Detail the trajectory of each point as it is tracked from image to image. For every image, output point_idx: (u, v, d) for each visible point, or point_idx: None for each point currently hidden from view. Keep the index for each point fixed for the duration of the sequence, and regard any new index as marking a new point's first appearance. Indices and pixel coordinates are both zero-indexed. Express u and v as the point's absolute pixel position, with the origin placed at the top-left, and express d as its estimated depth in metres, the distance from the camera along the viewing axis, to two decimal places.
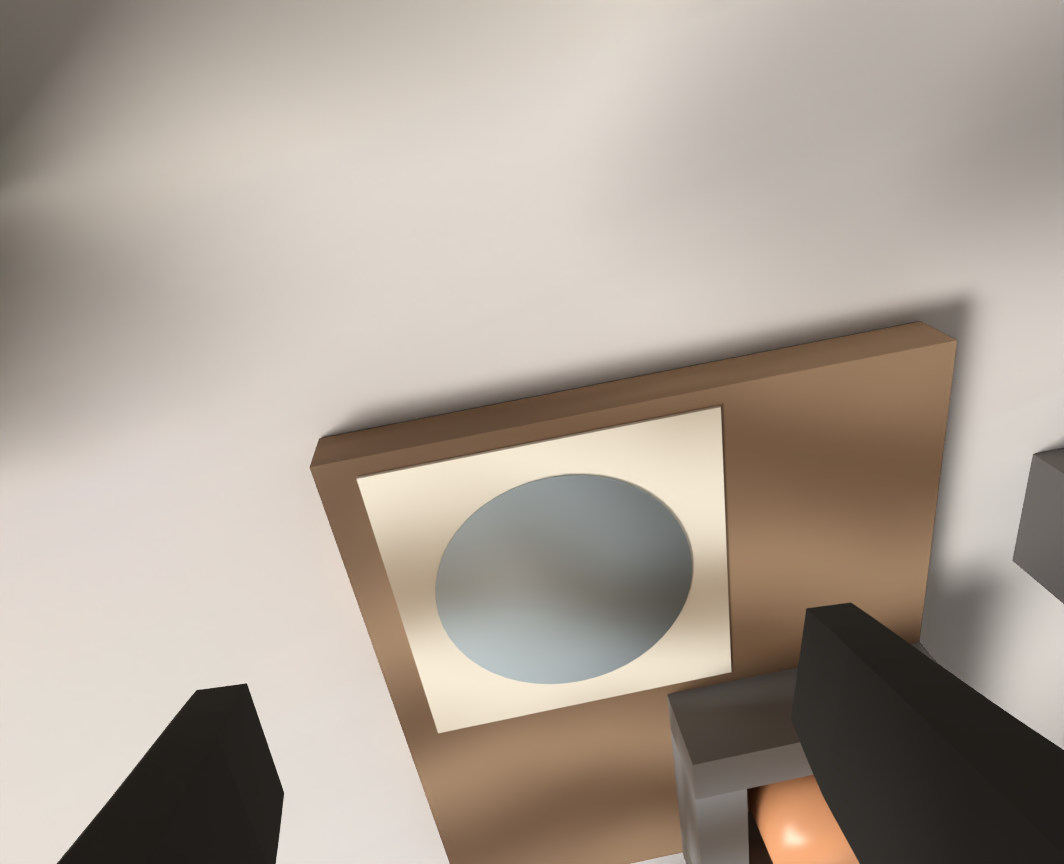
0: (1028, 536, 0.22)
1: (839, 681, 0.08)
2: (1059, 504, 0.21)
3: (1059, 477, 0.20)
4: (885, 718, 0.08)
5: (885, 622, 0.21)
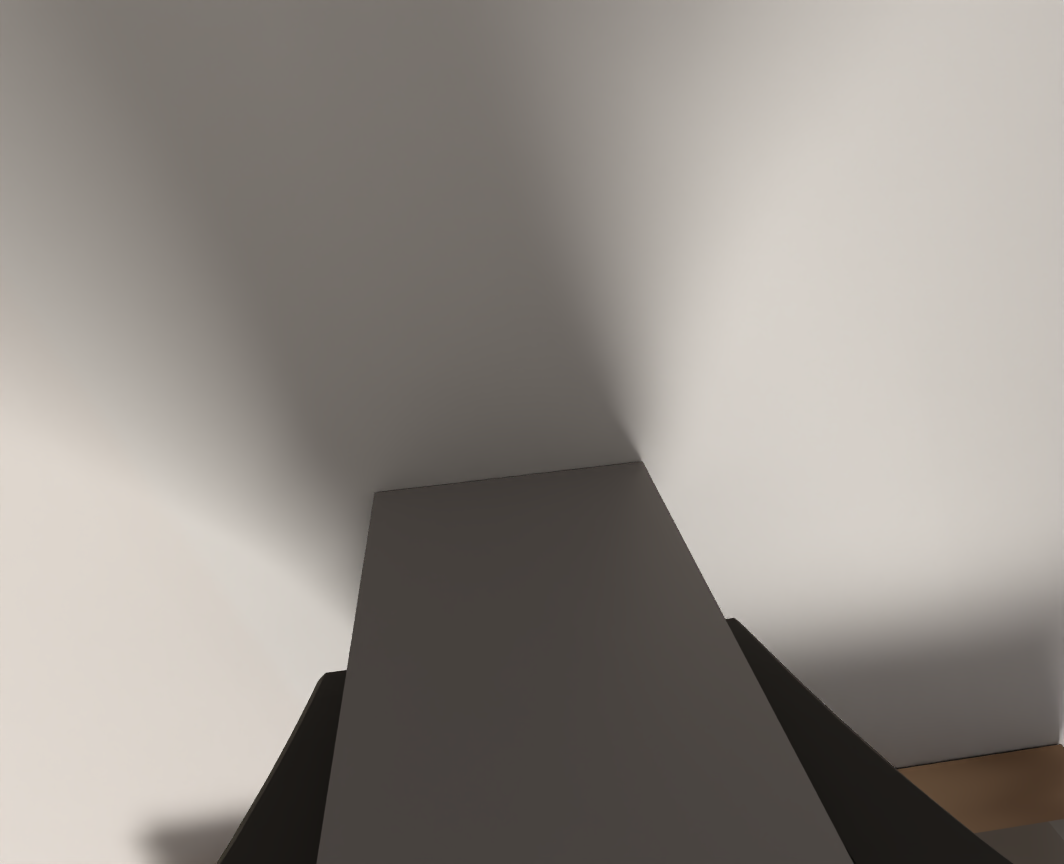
0: None
1: None
2: None
3: None
4: None
5: None
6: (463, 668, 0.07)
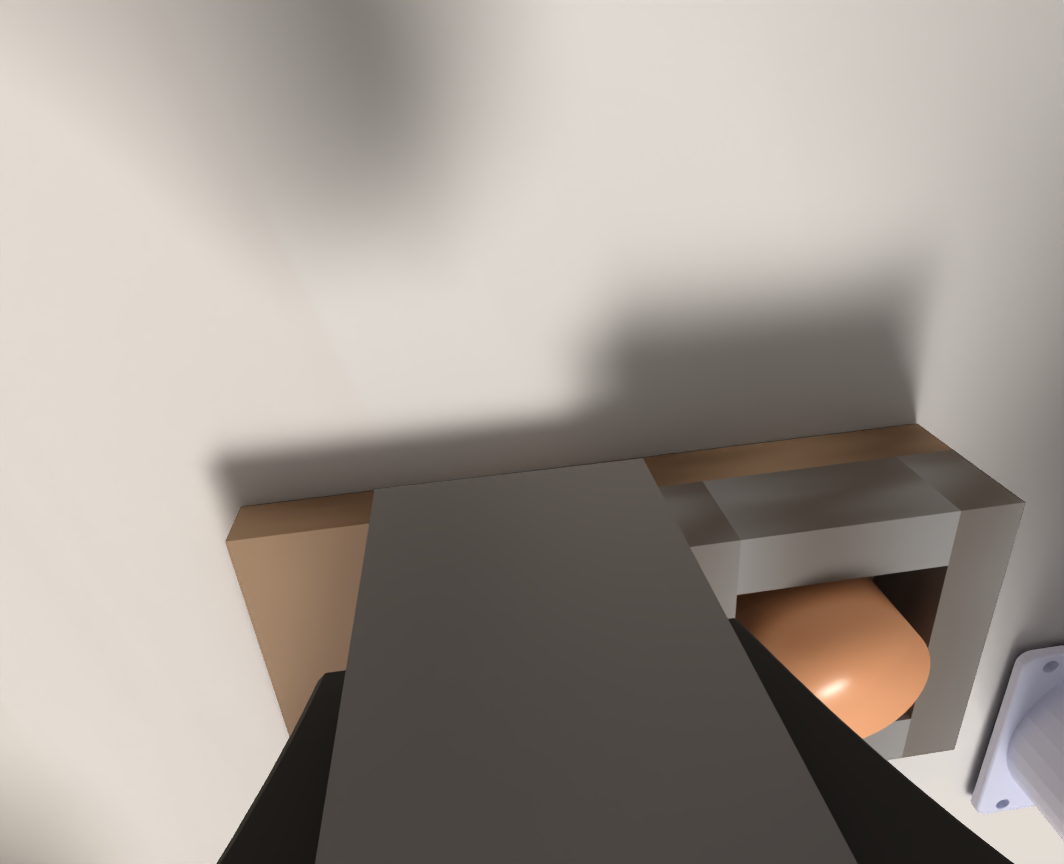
0: None
1: None
2: None
3: None
4: None
5: None
6: (463, 662, 0.07)
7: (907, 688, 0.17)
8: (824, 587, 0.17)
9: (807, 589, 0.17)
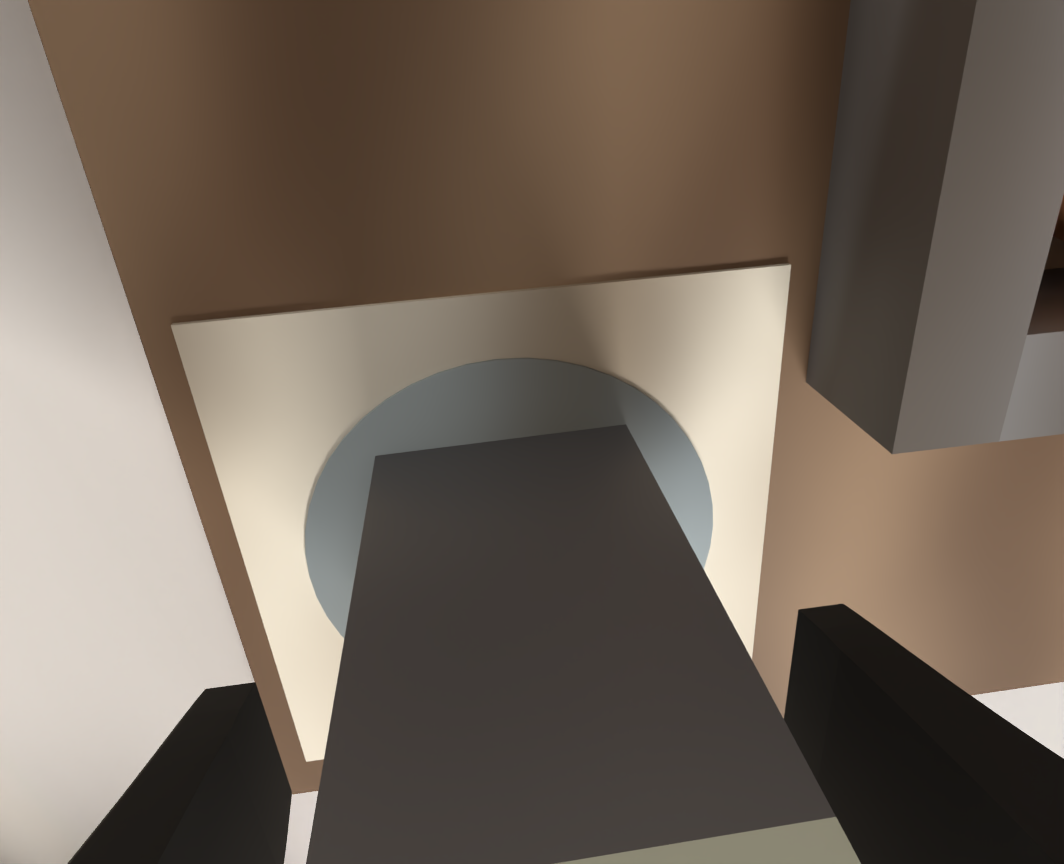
0: None
1: (831, 682, 0.08)
2: None
3: None
4: (876, 719, 0.08)
5: None
6: (455, 598, 0.08)
7: None
8: None
9: None
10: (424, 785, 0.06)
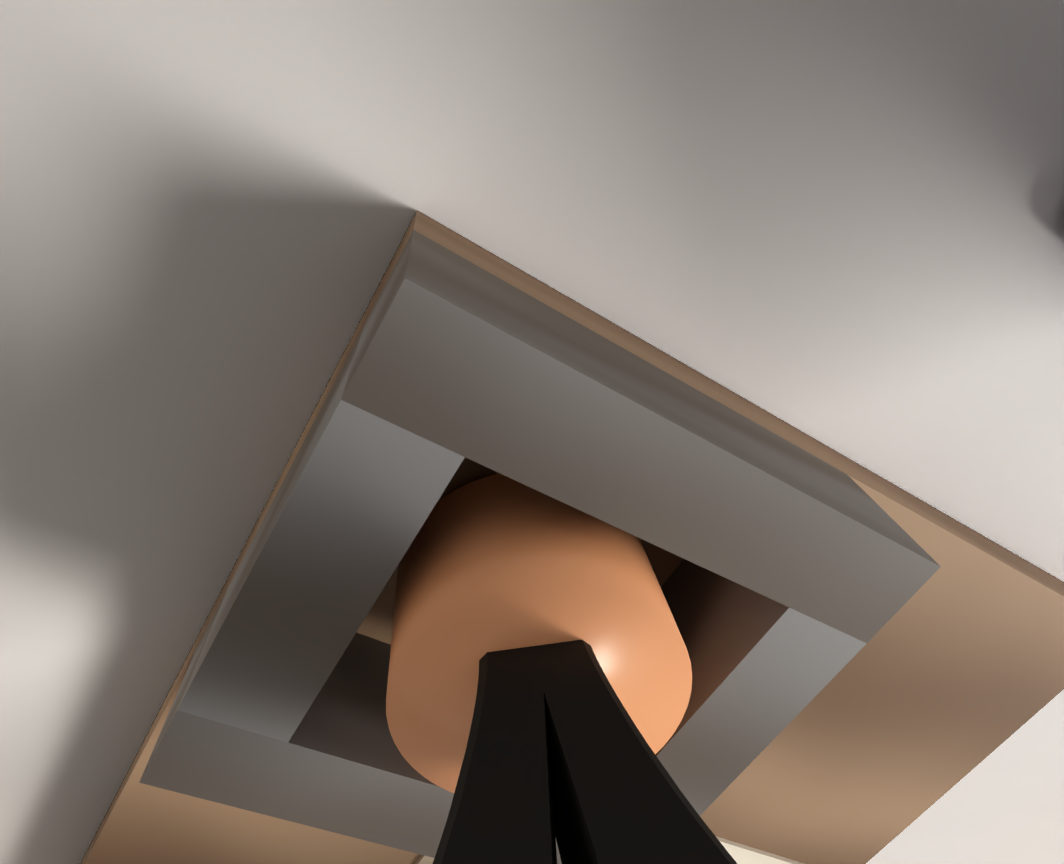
0: None
1: (546, 723, 0.08)
2: None
3: None
4: (560, 766, 0.07)
5: None
6: None
7: (630, 629, 0.09)
8: (401, 600, 0.10)
9: (394, 616, 0.10)
10: None
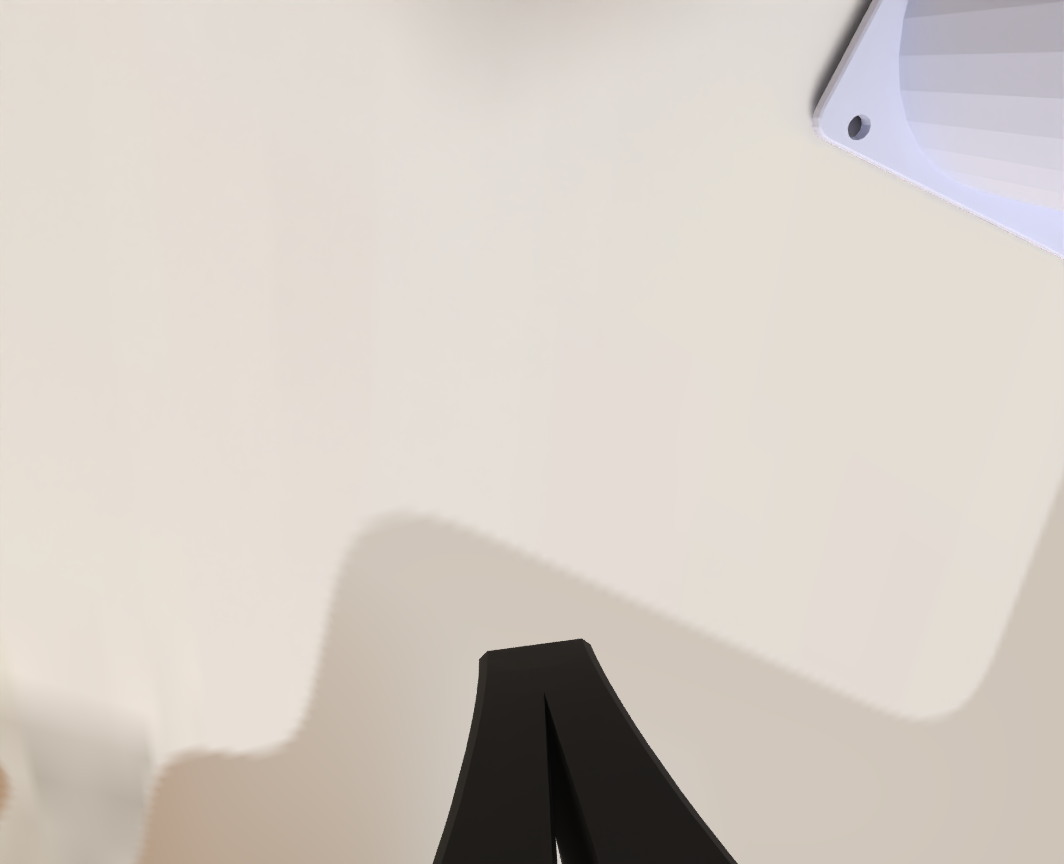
0: None
1: (546, 723, 0.08)
2: None
3: None
4: (561, 766, 0.07)
5: None
6: None
7: None
8: None
9: None
10: None
